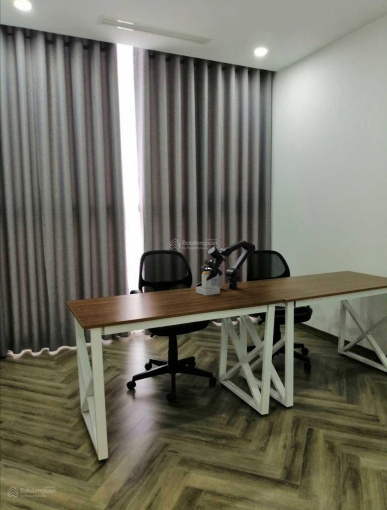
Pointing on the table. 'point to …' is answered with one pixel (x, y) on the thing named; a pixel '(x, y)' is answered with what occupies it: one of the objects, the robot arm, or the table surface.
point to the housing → (208, 290)
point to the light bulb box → (216, 281)
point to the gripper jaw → (206, 283)
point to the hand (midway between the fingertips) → (204, 279)
